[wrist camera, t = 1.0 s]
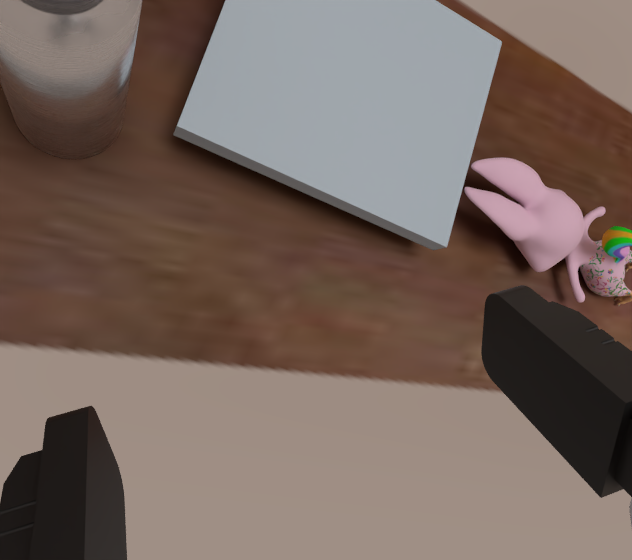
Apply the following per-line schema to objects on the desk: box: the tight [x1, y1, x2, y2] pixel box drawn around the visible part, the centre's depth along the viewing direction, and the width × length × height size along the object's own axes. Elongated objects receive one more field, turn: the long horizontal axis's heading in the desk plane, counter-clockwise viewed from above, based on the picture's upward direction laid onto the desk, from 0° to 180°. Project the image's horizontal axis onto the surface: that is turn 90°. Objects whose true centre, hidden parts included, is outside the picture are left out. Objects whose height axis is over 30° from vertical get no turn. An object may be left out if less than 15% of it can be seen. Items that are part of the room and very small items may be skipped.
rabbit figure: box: [464, 158, 632, 306], centre depth 32 cm, size 6×6×15 cm
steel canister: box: [0, 0, 142, 159], centre depth 20 cm, size 5×5×12 cm
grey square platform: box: [173, 0, 502, 250], centre depth 28 cm, size 14×12×3 cm
